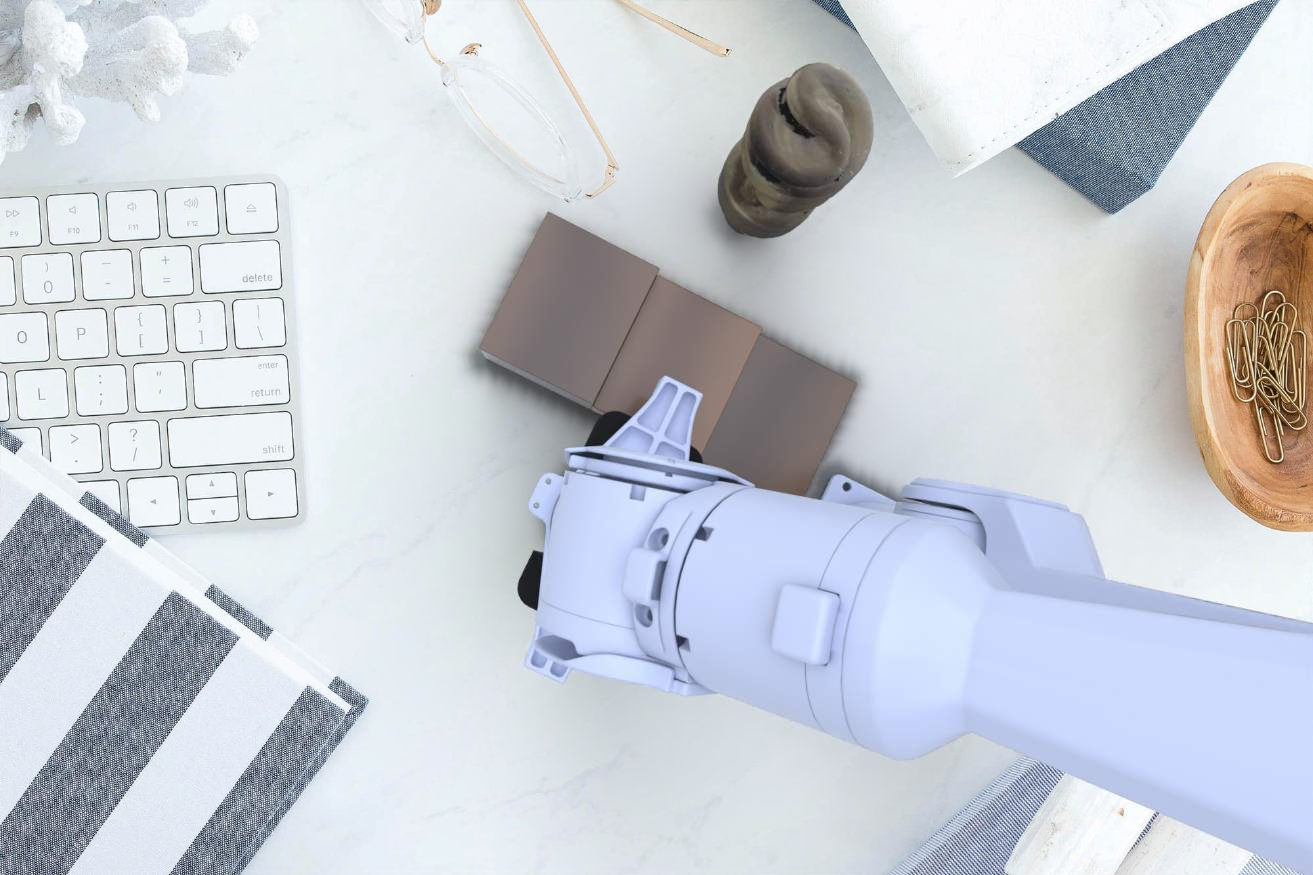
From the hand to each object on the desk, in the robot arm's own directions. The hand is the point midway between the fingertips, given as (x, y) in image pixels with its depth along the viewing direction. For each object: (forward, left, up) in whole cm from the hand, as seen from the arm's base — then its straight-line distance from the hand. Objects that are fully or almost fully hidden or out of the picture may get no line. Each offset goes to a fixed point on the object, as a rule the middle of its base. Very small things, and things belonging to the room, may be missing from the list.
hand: (604, 515), depth 50 cm
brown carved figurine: (0, -19, -2) cm, 19 cm away
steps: (0, -9, -1) cm, 9 cm away
